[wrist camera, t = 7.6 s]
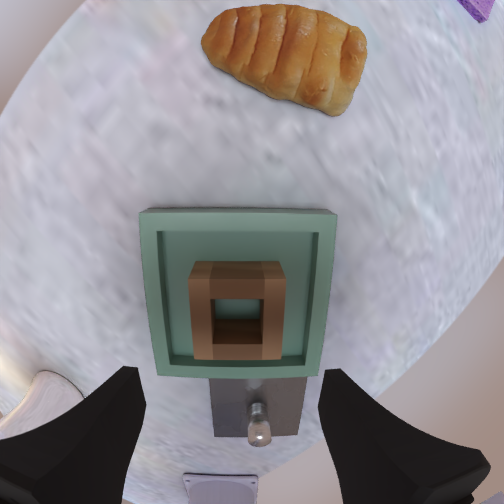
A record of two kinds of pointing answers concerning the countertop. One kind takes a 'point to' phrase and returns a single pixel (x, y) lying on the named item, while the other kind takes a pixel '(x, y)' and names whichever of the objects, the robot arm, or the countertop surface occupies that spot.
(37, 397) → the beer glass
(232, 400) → the grey peg base
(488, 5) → the sponges
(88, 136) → the countertop surface
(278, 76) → the pastry
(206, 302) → the collar
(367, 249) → the countertop surface
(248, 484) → the robot arm
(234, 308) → the tray
